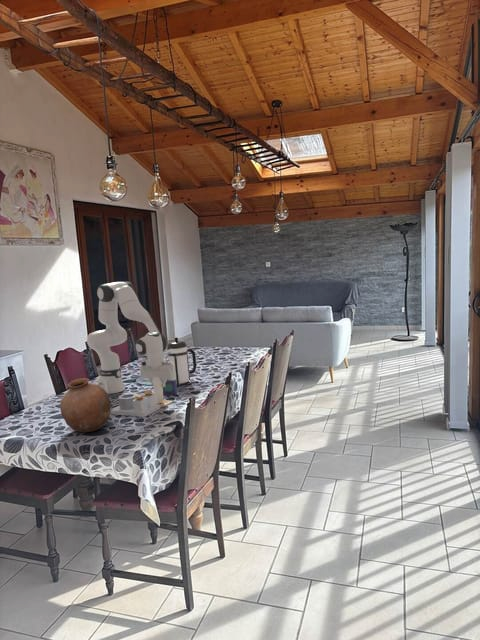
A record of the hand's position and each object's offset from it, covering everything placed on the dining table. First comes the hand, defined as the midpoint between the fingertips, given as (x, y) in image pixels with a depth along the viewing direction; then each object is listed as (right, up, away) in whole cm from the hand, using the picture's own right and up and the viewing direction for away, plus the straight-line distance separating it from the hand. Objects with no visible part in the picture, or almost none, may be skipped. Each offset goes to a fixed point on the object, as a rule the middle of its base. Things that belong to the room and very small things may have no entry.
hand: (158, 386), depth 260 cm
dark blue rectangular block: (+3, -8, +19) cm, 21 cm away
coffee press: (+8, -4, +42) cm, 43 cm away
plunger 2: (-4, -8, -7) cm, 12 cm away
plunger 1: (-7, -10, -14) cm, 18 cm away
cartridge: (0, -8, +1) cm, 8 cm away
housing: (-11, -12, -7) cm, 18 cm away
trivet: (+1, -10, +1) cm, 10 cm away
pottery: (-29, -17, -31) cm, 45 cm away
